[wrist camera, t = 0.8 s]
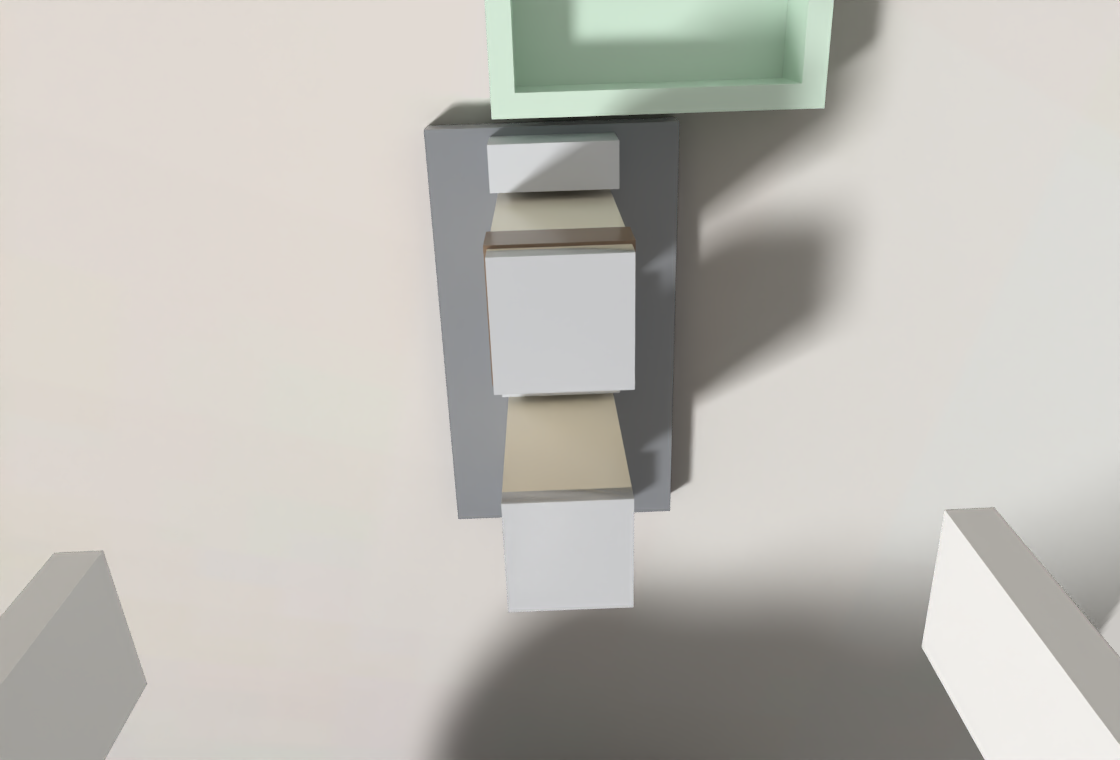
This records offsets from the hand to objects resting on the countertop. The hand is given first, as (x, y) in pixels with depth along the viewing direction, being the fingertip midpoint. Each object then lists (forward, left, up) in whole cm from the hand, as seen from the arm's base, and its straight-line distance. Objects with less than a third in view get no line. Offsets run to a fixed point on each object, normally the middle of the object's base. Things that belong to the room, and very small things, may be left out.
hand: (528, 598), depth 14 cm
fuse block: (-3, -1, -21) cm, 22 cm away
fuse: (-7, -1, -20) cm, 21 cm away
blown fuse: (+1, -1, -20) cm, 20 cm away
